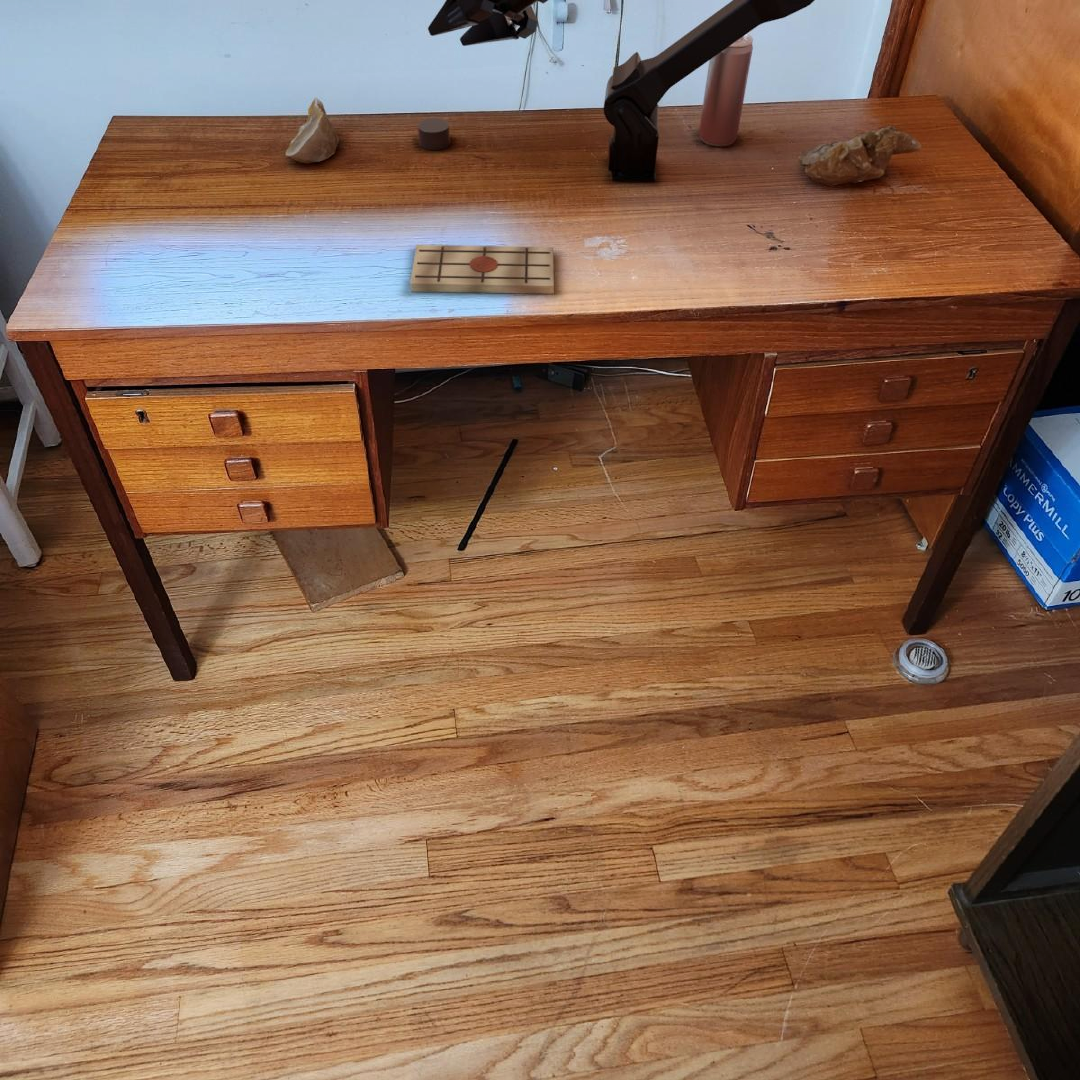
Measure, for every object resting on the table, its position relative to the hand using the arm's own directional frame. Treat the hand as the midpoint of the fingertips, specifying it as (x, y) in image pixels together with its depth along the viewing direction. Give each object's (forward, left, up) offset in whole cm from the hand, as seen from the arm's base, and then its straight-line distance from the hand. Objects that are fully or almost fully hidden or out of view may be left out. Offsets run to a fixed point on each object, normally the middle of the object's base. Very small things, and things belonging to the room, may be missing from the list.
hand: (446, 37), depth 131 cm
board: (-6, +30, -17) cm, 35 cm away
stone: (+21, -3, -18) cm, 28 cm away
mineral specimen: (-60, +3, -18) cm, 62 cm away
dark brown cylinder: (+3, -5, -17) cm, 18 cm away
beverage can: (-41, -8, -18) cm, 45 cm away
